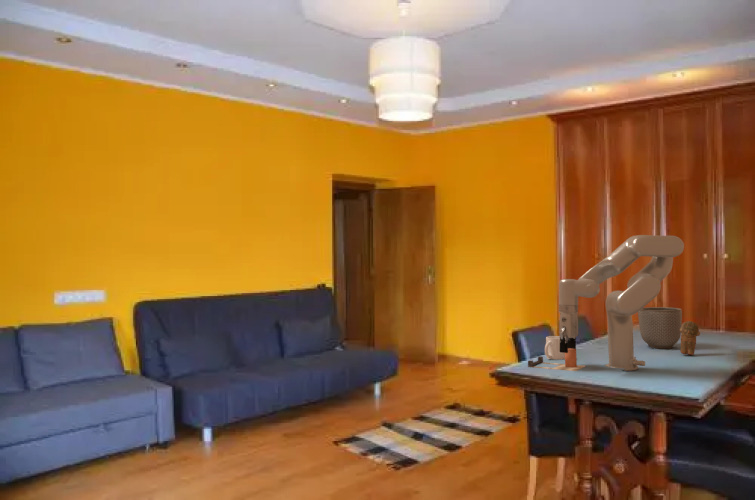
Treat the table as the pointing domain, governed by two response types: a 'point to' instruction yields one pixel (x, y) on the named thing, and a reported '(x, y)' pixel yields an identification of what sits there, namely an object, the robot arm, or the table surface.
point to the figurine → (688, 337)
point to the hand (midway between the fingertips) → (567, 351)
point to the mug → (553, 348)
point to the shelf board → (560, 367)
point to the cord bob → (570, 358)
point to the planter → (660, 326)
